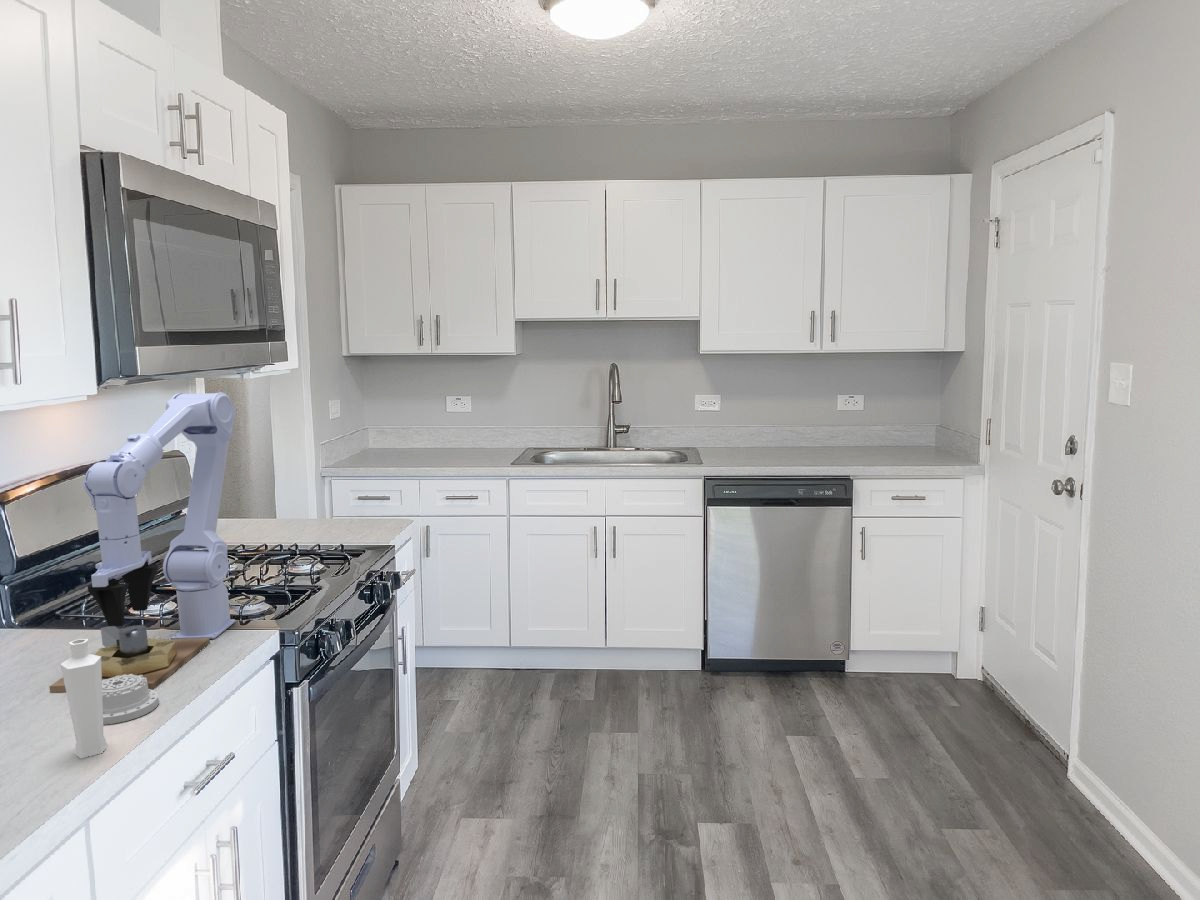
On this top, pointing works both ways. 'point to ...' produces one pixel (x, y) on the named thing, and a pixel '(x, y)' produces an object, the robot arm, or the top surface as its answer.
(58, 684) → the mount board
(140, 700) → the mechanical component
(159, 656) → the handled hexagon ring
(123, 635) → the steel pin
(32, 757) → the top surface
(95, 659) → the perfume bottle
